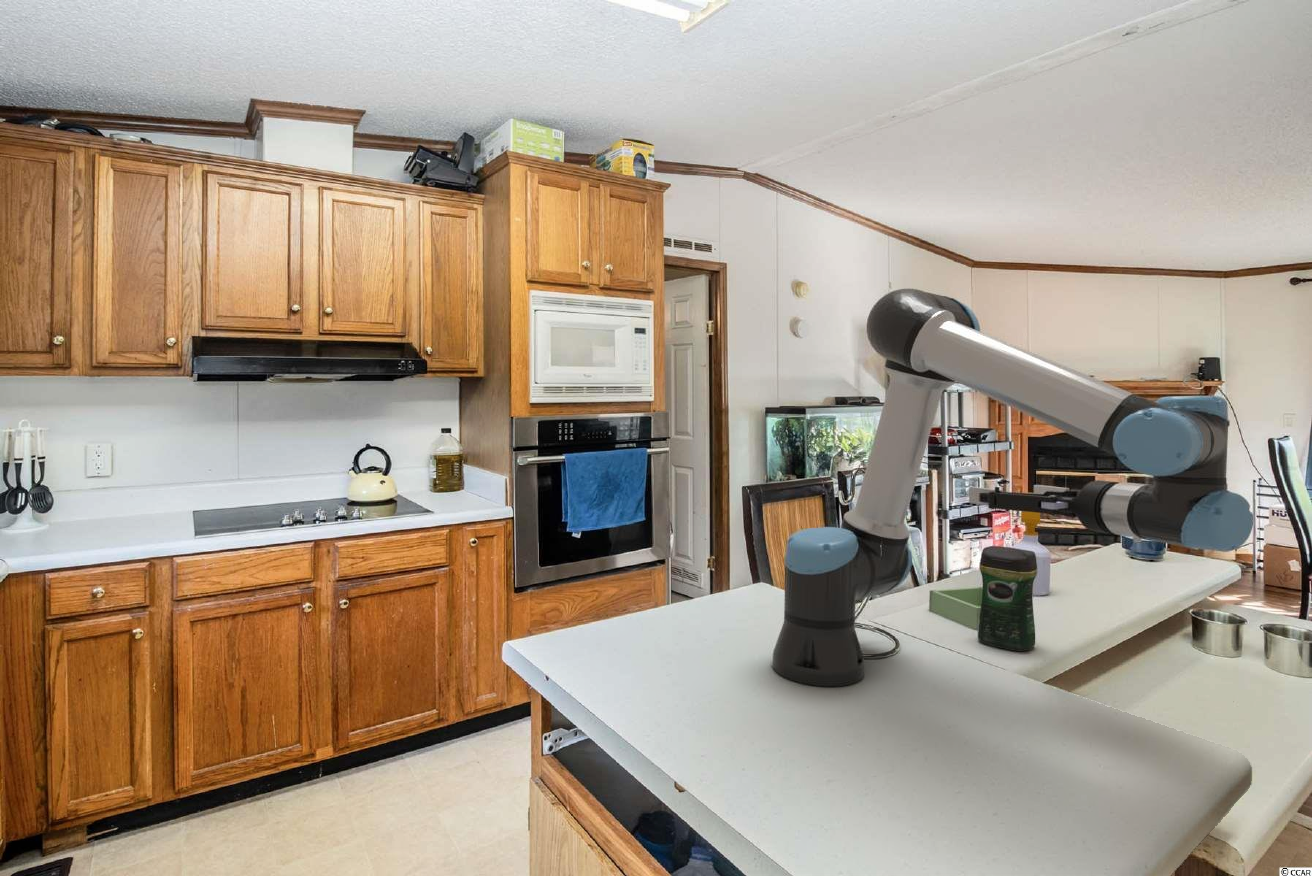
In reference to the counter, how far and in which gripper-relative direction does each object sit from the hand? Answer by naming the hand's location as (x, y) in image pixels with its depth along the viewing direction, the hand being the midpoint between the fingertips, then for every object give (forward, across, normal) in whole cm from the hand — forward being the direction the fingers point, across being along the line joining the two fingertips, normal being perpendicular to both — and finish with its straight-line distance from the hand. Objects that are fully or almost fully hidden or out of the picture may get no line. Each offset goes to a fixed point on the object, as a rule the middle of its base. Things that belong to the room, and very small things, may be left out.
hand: (1003, 493), depth 118 cm
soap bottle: (+40, +46, -30) cm, 69 cm away
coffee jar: (+10, +10, -30) cm, 33 cm away
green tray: (+25, +18, -30) cm, 43 cm away
